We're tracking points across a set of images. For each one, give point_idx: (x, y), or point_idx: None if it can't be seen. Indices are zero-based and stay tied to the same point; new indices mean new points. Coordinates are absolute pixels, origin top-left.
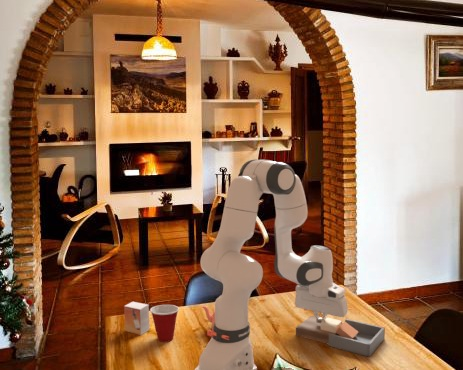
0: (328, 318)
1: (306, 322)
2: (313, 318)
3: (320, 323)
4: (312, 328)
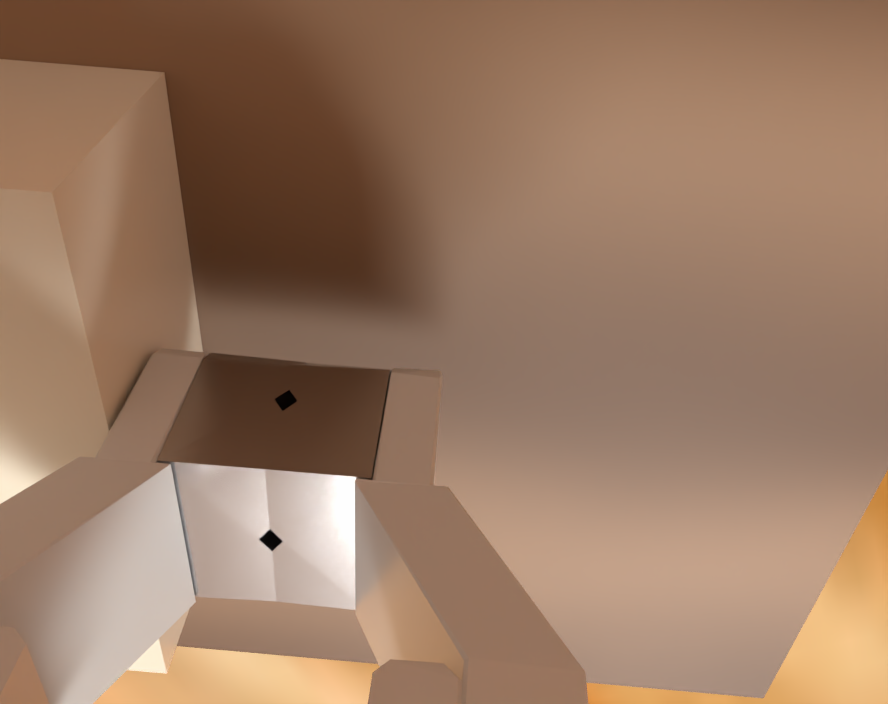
0: None
1: (823, 367)
2: (669, 620)
3: None
4: (481, 6)
